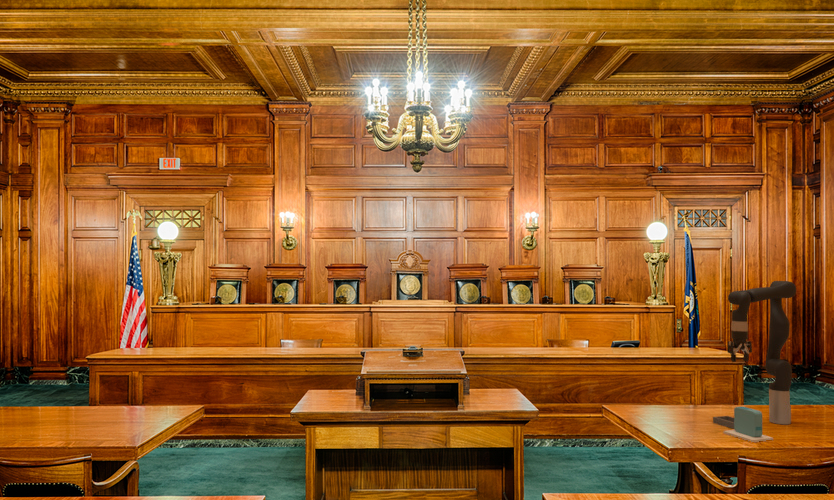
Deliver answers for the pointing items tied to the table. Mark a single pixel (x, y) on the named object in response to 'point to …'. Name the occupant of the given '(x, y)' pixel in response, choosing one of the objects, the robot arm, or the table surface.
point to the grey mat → (746, 437)
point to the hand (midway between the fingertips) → (739, 361)
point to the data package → (748, 421)
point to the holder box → (724, 421)
